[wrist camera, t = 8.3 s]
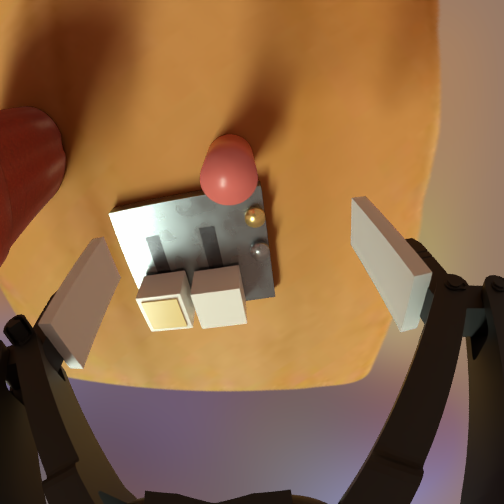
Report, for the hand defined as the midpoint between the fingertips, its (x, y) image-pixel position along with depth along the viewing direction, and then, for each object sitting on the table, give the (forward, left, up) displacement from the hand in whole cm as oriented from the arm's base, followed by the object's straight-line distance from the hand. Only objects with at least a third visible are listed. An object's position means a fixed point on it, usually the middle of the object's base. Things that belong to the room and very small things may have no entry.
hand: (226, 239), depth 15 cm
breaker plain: (+14, -3, -14) cm, 20 cm away
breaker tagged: (+14, -9, -14) cm, 22 cm away
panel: (+10, -5, -16) cm, 19 cm away
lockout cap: (0, 0, -16) cm, 16 cm away
